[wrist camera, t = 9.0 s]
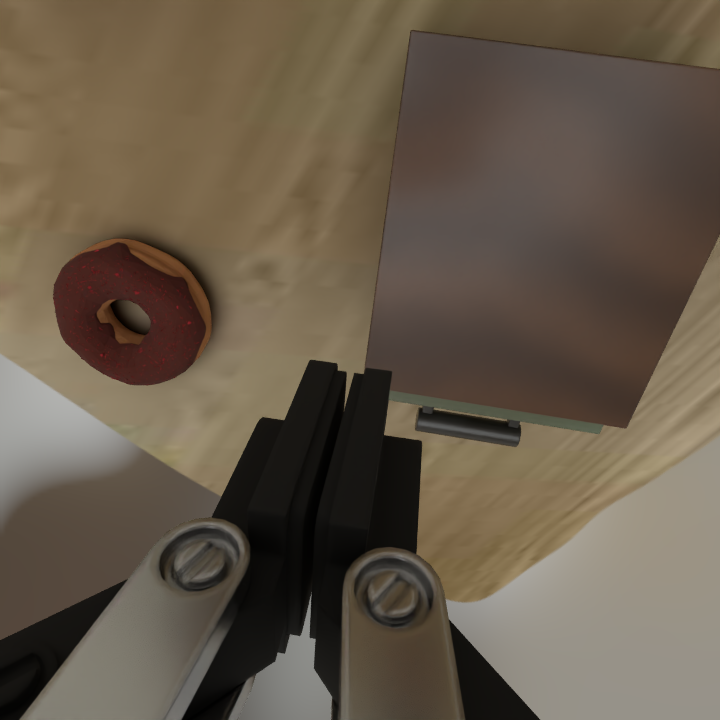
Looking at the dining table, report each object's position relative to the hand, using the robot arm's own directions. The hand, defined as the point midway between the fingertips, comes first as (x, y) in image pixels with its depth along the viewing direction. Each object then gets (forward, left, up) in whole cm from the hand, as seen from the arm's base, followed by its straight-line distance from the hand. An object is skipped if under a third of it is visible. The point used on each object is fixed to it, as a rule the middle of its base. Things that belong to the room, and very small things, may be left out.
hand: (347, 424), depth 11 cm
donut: (+16, +10, -22) cm, 29 cm away
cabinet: (-6, 0, -22) cm, 23 cm away
